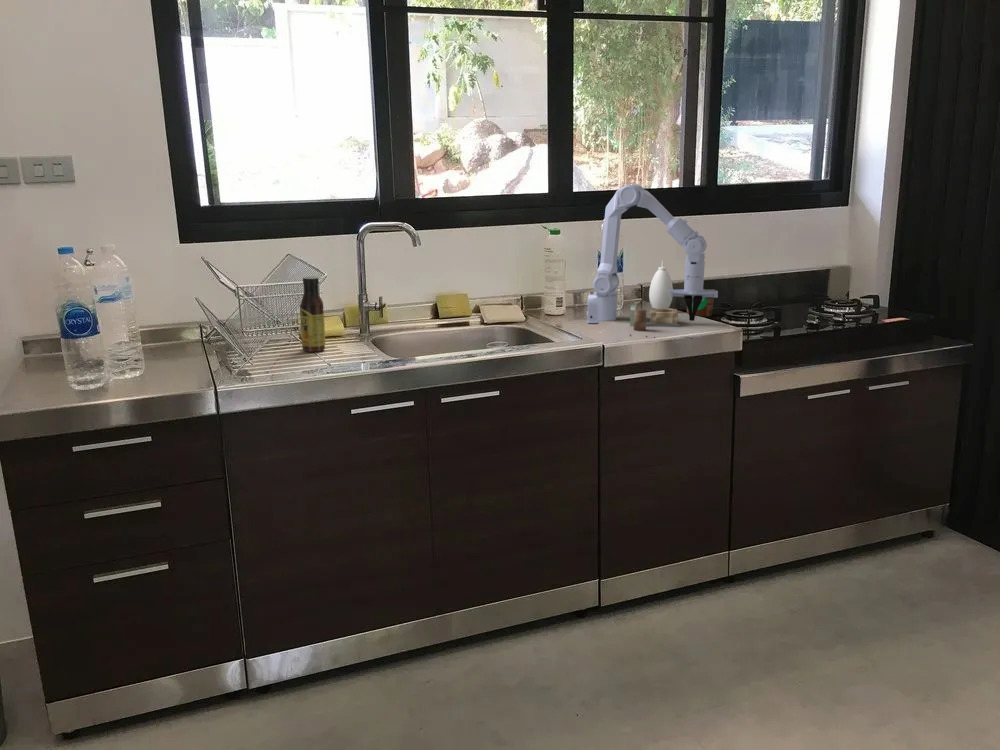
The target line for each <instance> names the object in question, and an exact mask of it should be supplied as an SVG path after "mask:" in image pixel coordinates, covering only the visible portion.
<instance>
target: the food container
mask: <svg viewBox="0 0 1000 750" xmlns="http://www.w3.org/2000/svg"><path fill="white" fill-rule="evenodd" d="M703 290H713V291H716V289H712V288H711V289H709V288H708V289H705V288H703ZM687 295H694V294H687ZM697 295H700V294H697ZM692 298H693V297H692ZM714 300H715V298H714V297H702V301H701V303H700V305H699V307H698V309H697V312H696V315H695V317H712V316H713V310H714V309H713V308H714ZM692 311H693V304H692ZM686 314H687V315H689V312H688V308H687V307H686Z"/></svg>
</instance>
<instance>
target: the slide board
mask: <svg viewBox="0 0 1000 750" xmlns="http://www.w3.org/2000/svg"><path fill="white" fill-rule="evenodd" d="M636 306H637V305H636V304H635V303H631V304H630V311H629V327H634V310H636ZM646 327H664V328H665V327H666V328H667V327H668V328H680V323H679V319H678V320H677V324H657V323H650V317H646Z"/></svg>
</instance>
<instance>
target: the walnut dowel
mask: <svg viewBox="0 0 1000 750" xmlns="http://www.w3.org/2000/svg"><path fill="white" fill-rule="evenodd" d="M647 311H648V310H647V309H640V308H639V309H635V310H634V326H633V330H634V331H636V332H644V331H647V326H646V323H647V321H646V318H647Z"/></svg>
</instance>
